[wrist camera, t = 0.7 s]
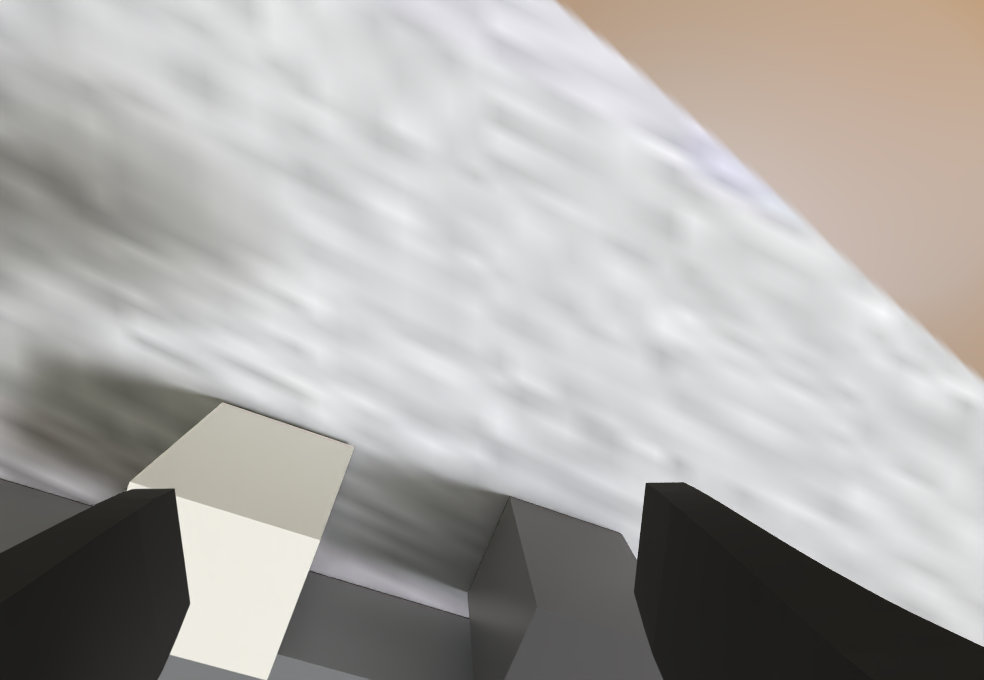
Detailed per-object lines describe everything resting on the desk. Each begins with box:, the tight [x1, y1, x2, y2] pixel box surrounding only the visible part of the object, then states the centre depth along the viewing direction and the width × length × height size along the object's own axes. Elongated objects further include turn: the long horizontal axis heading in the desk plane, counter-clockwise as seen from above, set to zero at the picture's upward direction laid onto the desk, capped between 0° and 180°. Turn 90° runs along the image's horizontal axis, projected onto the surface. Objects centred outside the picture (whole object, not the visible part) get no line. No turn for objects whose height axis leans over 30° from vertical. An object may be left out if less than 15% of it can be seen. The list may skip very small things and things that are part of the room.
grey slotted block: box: [0, 479, 663, 680], centre depth 17 cm, size 10×28×6 cm, turn 68°
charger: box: [127, 402, 354, 680], centre depth 17 cm, size 7×4×6 cm, turn 158°
